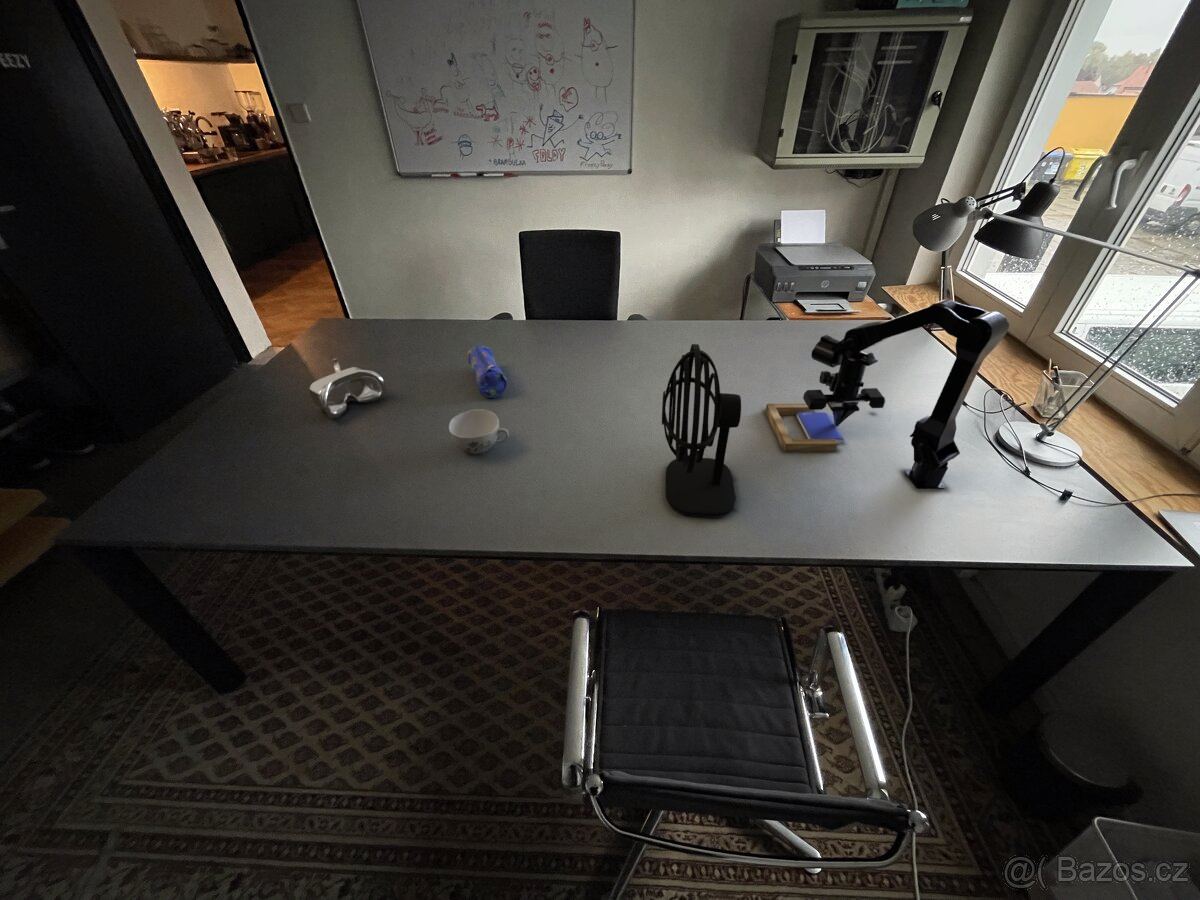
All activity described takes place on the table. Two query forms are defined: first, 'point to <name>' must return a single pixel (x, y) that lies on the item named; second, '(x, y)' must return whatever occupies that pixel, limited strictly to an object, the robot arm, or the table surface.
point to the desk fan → (692, 477)
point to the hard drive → (819, 426)
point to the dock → (783, 435)
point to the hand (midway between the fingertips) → (835, 425)
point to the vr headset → (346, 389)
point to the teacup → (476, 430)
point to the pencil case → (486, 371)
